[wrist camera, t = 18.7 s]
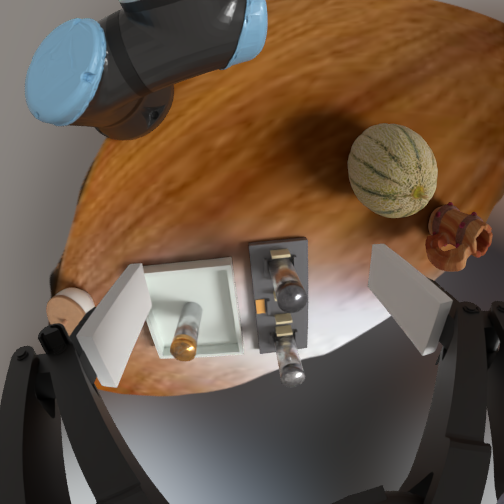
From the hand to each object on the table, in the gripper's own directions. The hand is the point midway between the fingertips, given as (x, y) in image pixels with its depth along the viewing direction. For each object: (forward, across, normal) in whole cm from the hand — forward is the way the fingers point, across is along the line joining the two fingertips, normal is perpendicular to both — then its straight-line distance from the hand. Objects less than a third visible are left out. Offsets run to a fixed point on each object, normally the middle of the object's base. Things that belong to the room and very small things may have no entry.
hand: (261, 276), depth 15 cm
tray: (+31, -12, -22) cm, 40 cm away
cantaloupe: (+32, +23, +3) cm, 39 cm away
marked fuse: (+30, -12, -22) cm, 39 cm away
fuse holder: (+31, +5, -21) cm, 38 cm away
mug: (+31, +38, -8) cm, 50 cm away
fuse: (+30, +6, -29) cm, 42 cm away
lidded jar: (+31, -37, -19) cm, 52 cm away
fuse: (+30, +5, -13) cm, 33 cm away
